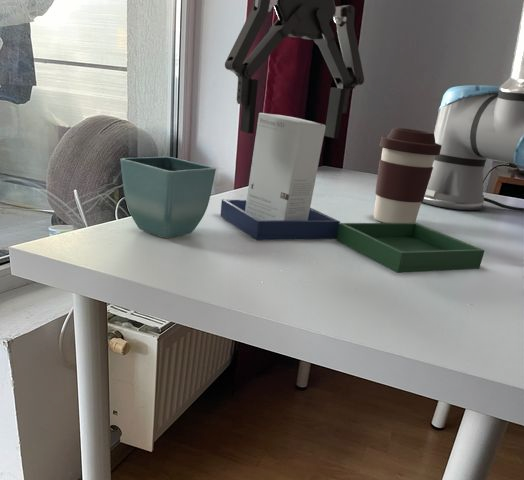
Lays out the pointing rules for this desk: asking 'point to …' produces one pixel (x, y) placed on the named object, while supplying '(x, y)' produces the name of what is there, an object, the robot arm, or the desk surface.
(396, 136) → the coffee cup
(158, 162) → the flower pot
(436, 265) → the green tray
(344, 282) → the desk surface
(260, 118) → the cosmetic box
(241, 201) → the navy tray
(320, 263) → the desk surface
